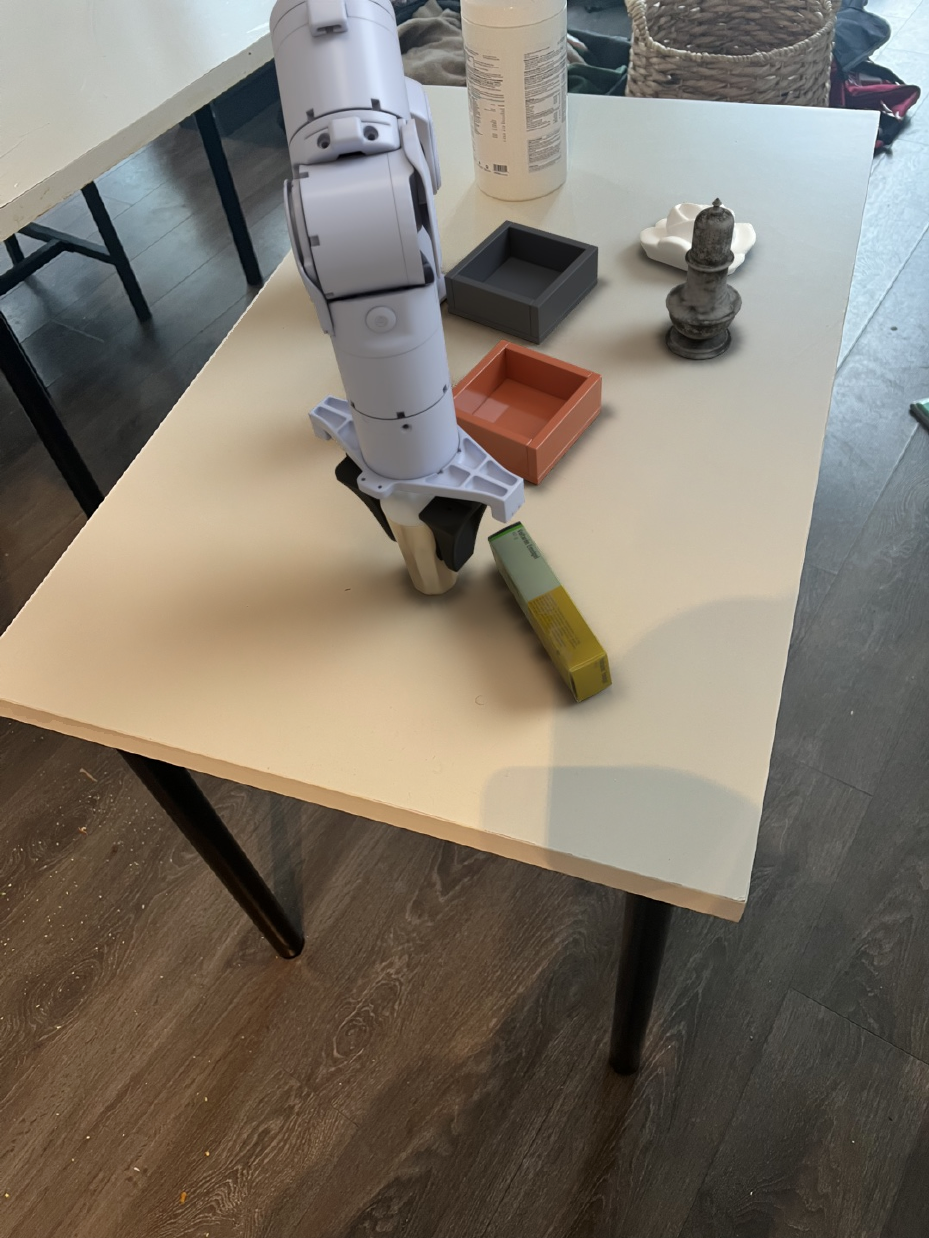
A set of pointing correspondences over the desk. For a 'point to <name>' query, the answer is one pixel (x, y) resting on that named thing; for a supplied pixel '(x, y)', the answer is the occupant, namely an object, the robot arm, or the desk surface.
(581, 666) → the medication box
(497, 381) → the terracotta bin
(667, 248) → the rose
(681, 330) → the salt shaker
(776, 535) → the desk surface
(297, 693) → the desk surface
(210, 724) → the desk surface
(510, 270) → the charcoal bin
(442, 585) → the milkshake
